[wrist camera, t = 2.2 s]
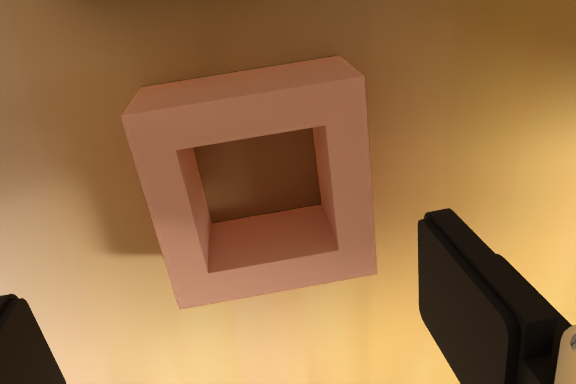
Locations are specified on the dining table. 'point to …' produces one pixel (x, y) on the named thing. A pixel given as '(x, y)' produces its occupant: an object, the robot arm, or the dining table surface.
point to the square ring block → (268, 227)
